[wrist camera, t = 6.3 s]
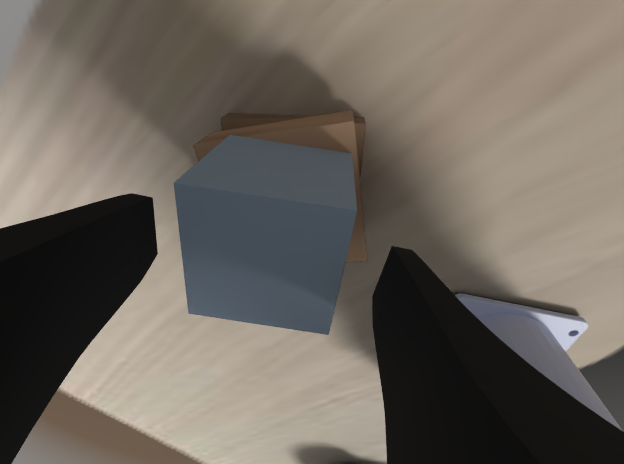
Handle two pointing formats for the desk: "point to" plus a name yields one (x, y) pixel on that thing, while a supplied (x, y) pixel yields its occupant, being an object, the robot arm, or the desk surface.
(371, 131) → the desk surface
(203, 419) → the desk surface
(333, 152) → the cube
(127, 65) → the desk surface
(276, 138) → the tower mid
